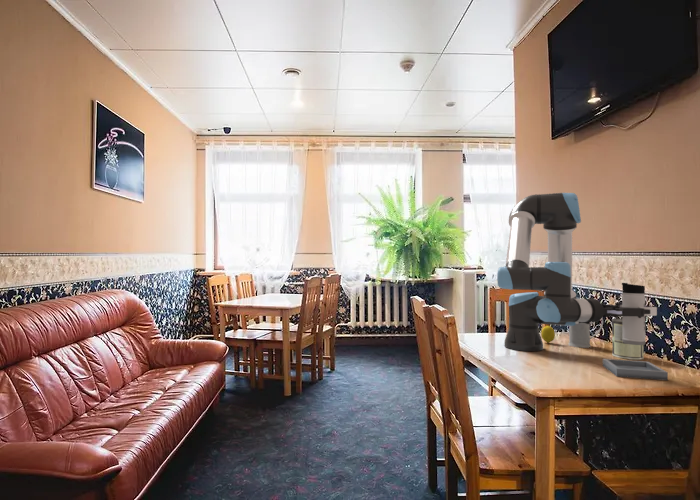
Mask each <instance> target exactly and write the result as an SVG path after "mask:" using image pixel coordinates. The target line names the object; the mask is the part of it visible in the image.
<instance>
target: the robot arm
mask: <svg viewBox="0 0 700 500" xmlns="http://www.w3.org/2000/svg"><path fill="white" fill-rule="evenodd" d="M580 211H581V210H580V204H579V197H578V194H576V193H574V192H556V193H555V192H554V193H541V194H540V193H539V194H531V195H528V196H525V197H524V198H521V200H520V201H519V202H517V203H516V204H515V205H514V206H513V208H512V209H511V211H510V213H509V216H508V225H509V228H510V230H509V236H508V244H507V245H508V246H507V252H506V259H505V265H504V266H500V267H498V269H497V275H496V276H497V279H496V281H497V286H498V288H500V289H503V290H511V291H512V290H516V291H517V290H519V291H520V290H522V291H524V290H525V291H527V292H520V293H519V292H518V293H512V294H510V295H509V299H508V330H507V333H506V336H505V339H504V343H503V344H504V347H505V348H507V349H510V350H516V351H522V352H540V351H543V350H544V342H543V339H542V336H541V332H540V329H539V325H549V326H551V325H553V326H561V327H562V326H563V327H569V326H574V325H576V324H578V323H579V322H589V323H592V322H593V323H598V322H599V321H602V317H604V318H610V317H617V318H620V317H622V316H638V318H641V317H644V316H645V317H651V316H653V317H654V316H657V315H658V311H657V310H658V307H656V306H645V307H637V308H627V307H622V304H620V303H619V302H615V304H612V303H611V304H605V303H601V302H600V301H599V300H598V299H596V298H580V297H578V296H577V293H576V291H574V290H573V283H572V282H573V232H574V231H575V230H576V229H577V227H578V224H581V223H582V220H581V219H582V218H581V212H580ZM535 225H542V226H543V230H545V231H546V232H547V261H546V262H545V264H544V266H533V267H532V266H530V261H531V259H530V257H531V243H532V231H533V228H534V227H535ZM529 291H530V292H529ZM531 291H533V292H531ZM536 291H544V292H543V295H539V292H536Z"/></svg>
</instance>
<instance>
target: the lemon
mask: <svg viewBox="0 0 700 500" xmlns="http://www.w3.org/2000/svg"><path fill="white" fill-rule="evenodd" d="M540 336H541V339H542V341H545V342H546V343H547V344H549V343H551V342H553V341H554V339H555V338H556V333H555V329H554V328H553V327H552V326H551V325H549V324H546V325H545V326H544V327H543V328H542V329H541V332H540Z"/></svg>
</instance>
